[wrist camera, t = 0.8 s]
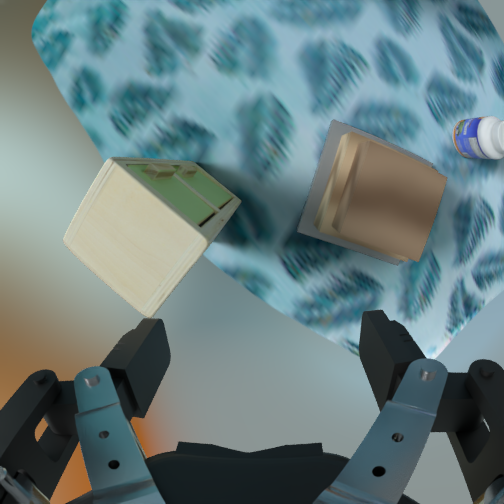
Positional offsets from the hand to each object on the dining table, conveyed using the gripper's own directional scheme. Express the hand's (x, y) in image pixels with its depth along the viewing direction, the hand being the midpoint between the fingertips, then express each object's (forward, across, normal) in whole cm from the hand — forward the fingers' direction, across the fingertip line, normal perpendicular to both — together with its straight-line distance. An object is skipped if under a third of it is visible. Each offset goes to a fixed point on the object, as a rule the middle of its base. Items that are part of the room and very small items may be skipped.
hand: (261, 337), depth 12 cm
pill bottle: (+27, -28, -10) cm, 40 cm away
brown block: (+25, -12, -2) cm, 28 cm away
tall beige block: (+26, +8, -3) cm, 28 cm away
